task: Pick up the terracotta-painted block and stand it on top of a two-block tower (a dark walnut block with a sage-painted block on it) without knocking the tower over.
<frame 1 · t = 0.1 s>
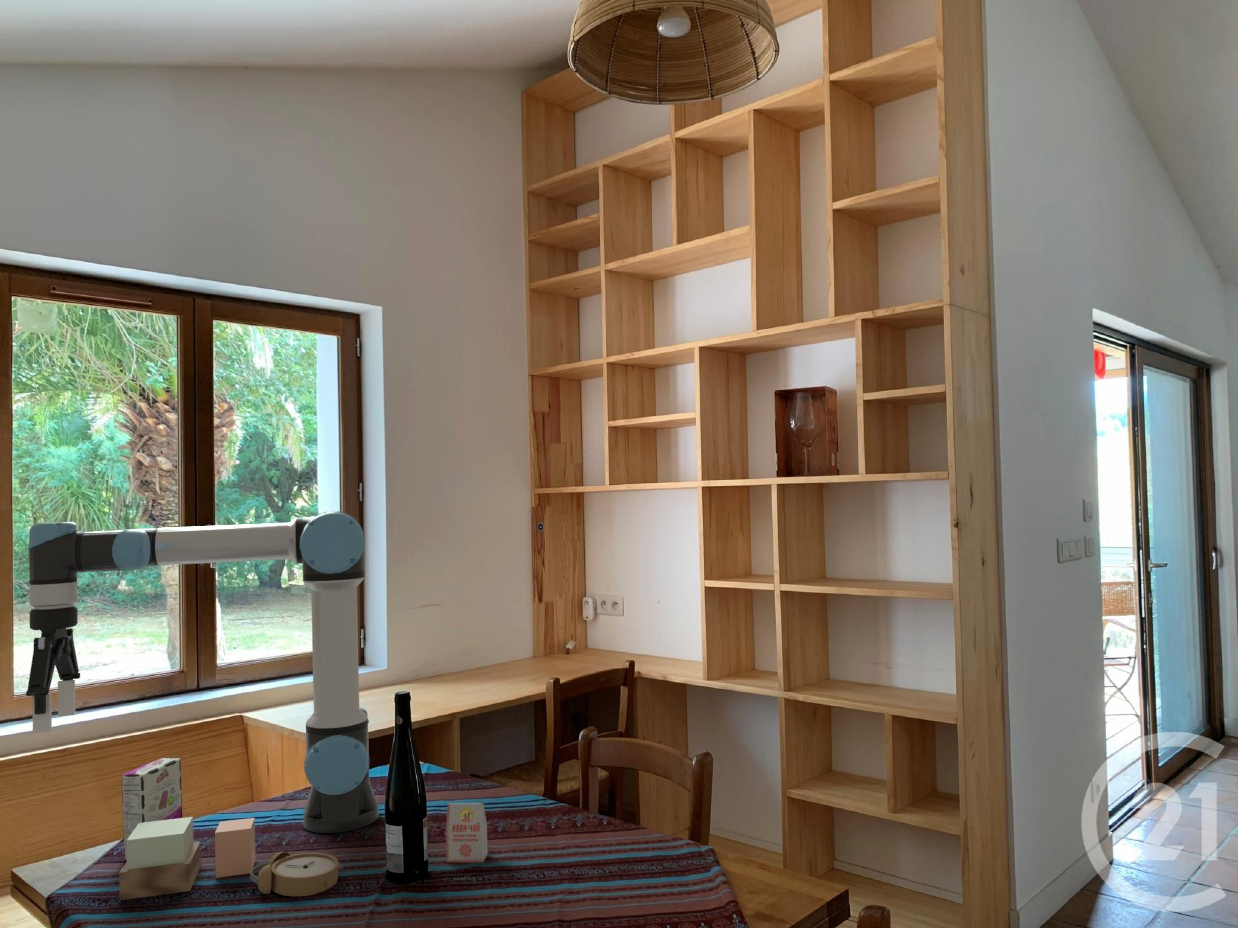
hand: (55, 723, 167), 28 cm above the table, fingers open, 13 cm apart
candy bar box: (153, 851, 179), on the table
tower upper: (161, 856, 163), point 5 cm above the table, touching tower lower
tower lower: (162, 884, 163), on the table, touching tower upper
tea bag: (467, 859, 169), on the table
block: (236, 869, 168), on the table
alarm clock: (294, 886, 160), on the table
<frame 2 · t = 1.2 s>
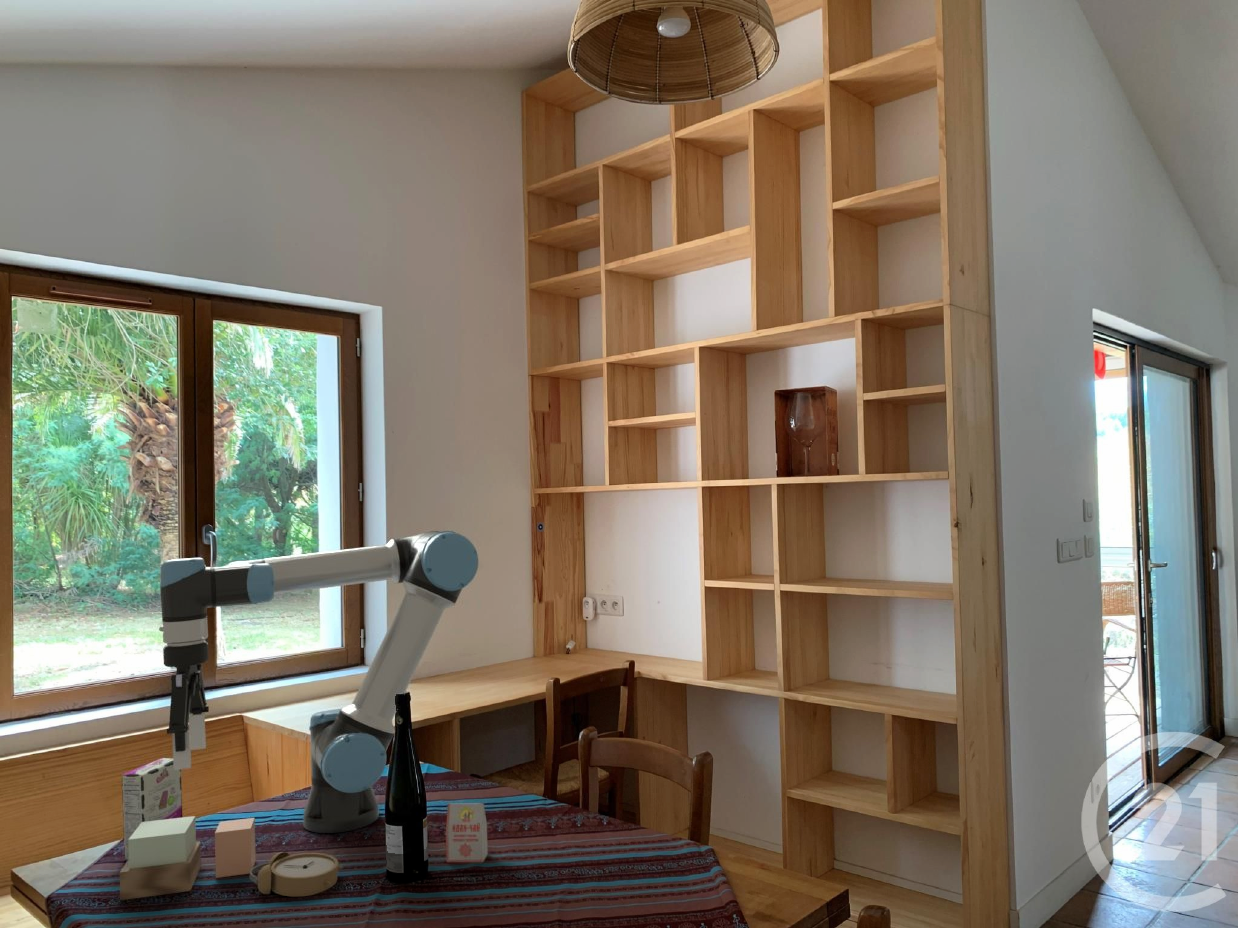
hand: (190, 758, 169), 20 cm above the table, fingers open, 13 cm apart
nothing on the table moved.
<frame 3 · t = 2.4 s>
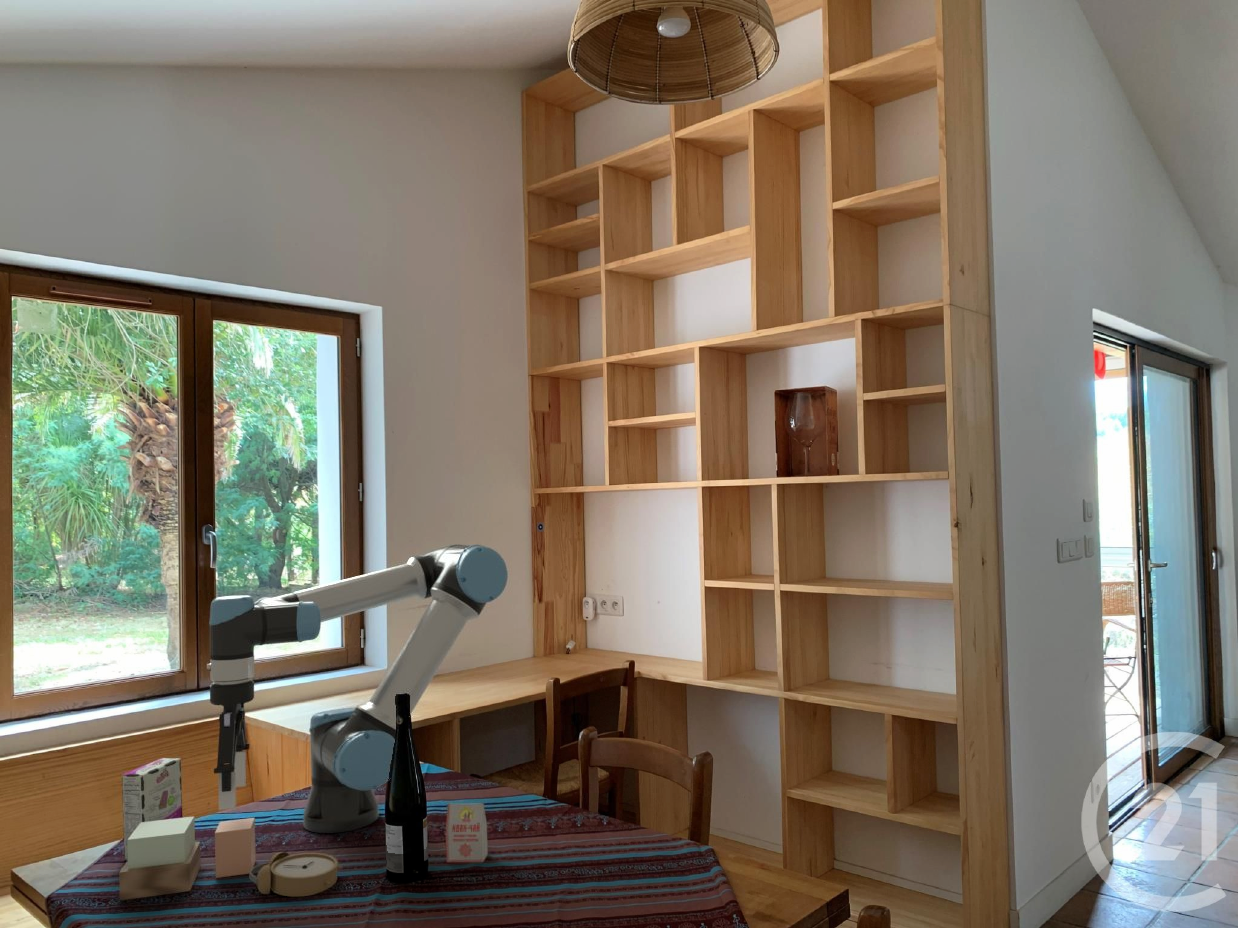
hand: (232, 797, 169), 13 cm above the table, fingers open, 13 cm apart
nothing on the table moved.
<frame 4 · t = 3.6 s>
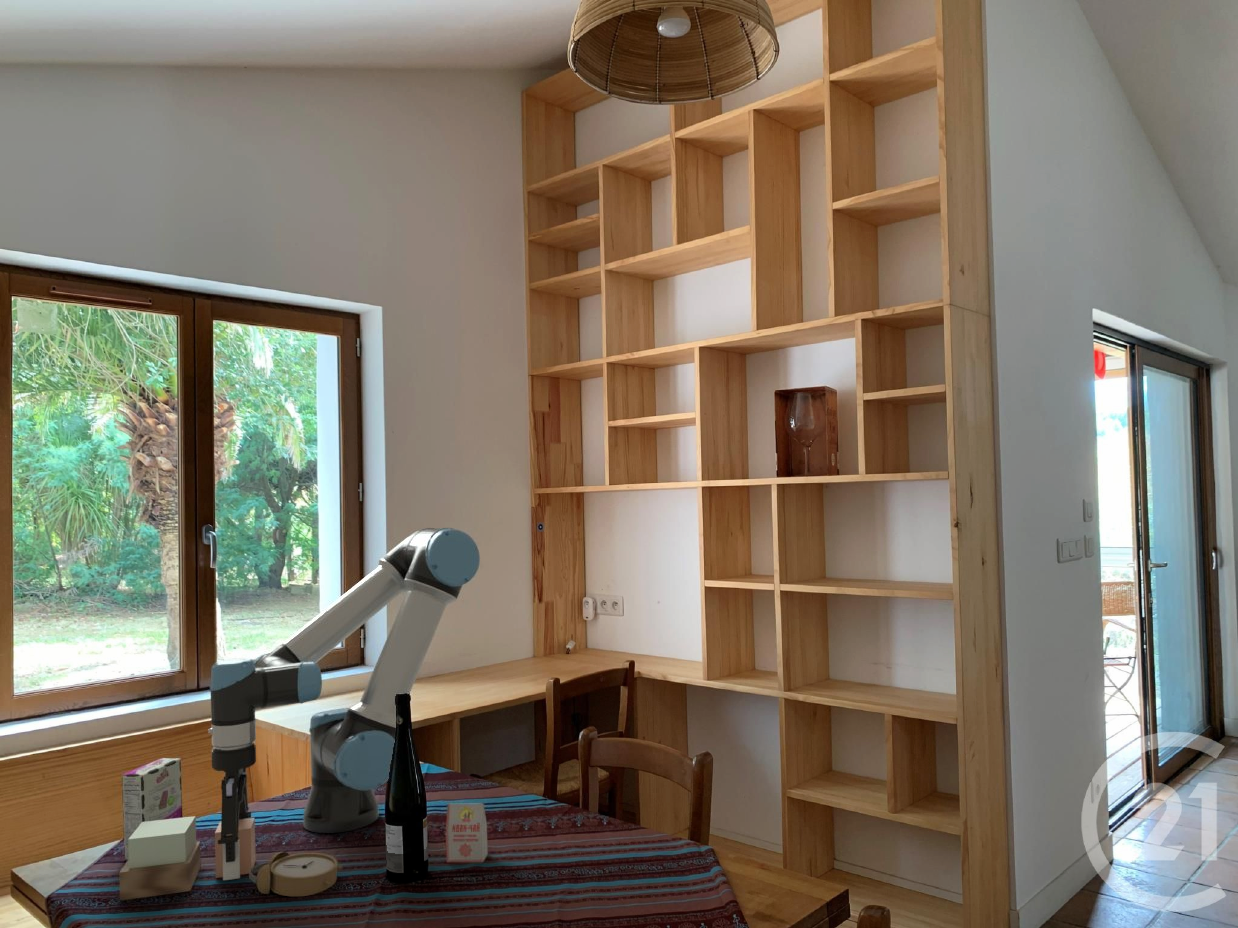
hand: (235, 866, 168), 0 cm above the table, fingers open, 10 cm apart
tower upper: (163, 855, 163), point 5 cm above the table
tower lower: (162, 884, 163), on the table
everything else where it was.
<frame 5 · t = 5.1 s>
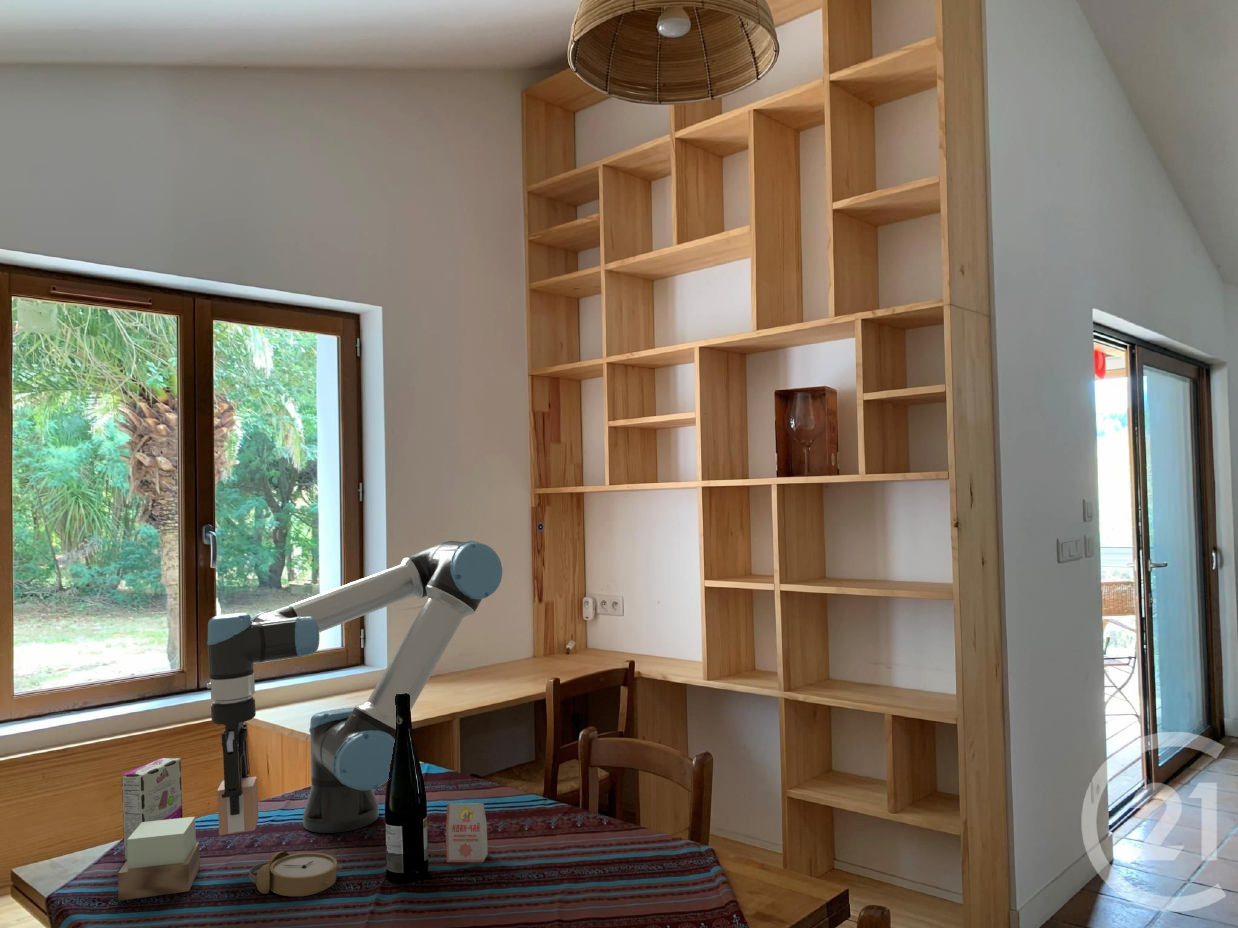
hand: (239, 824, 169), 8 cm above the table, fingers closed on block, 6 cm apart
block: (239, 826, 169), point 7 cm above the table, touching gripper
everything else where it was.
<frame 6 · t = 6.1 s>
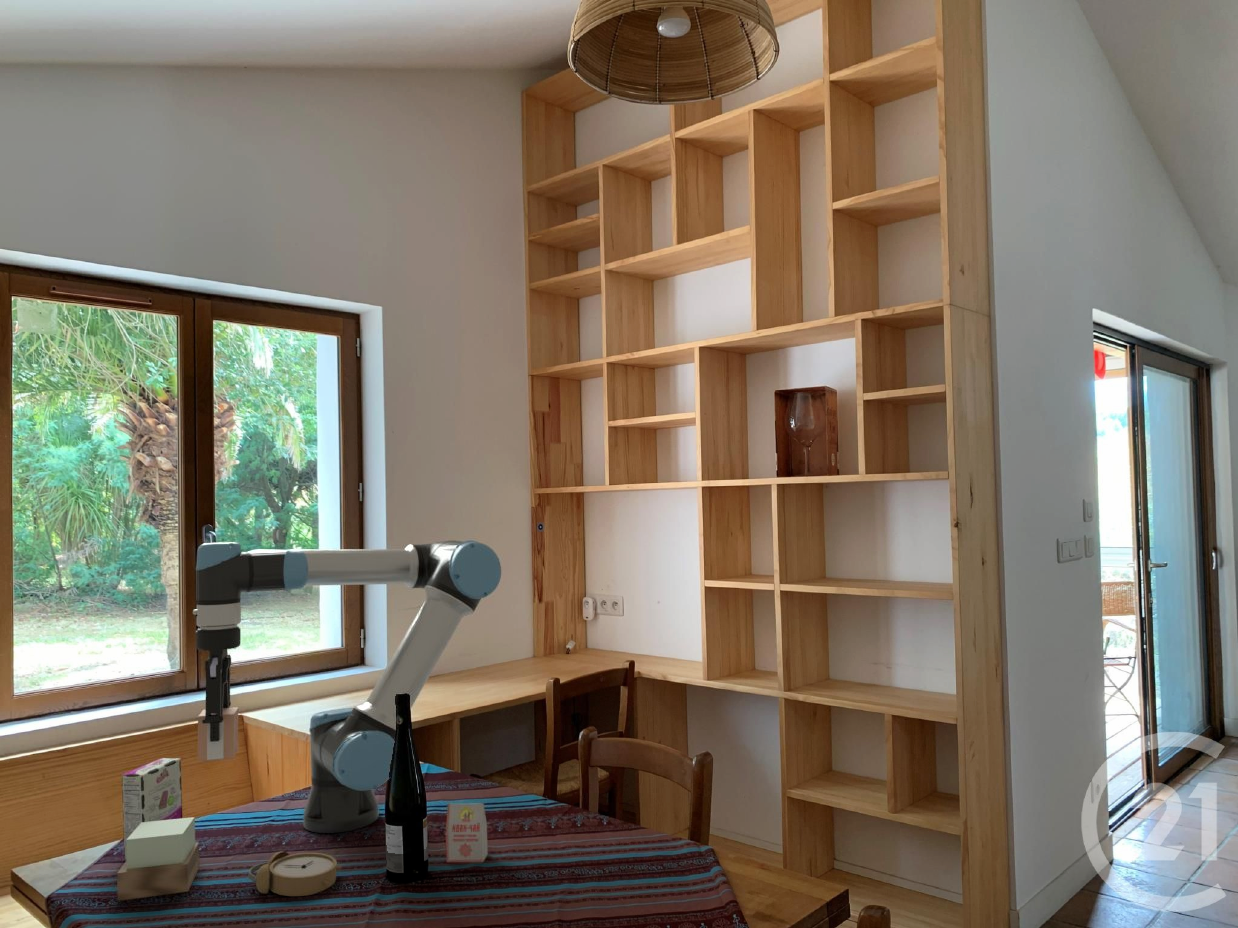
hand: (218, 753, 168), 21 cm above the table, fingers closed on block, 6 cm apart
tower upper: (161, 856, 163), point 5 cm above the table, touching tower lower
tower lower: (160, 885, 163), on the table, touching tower upper
block: (218, 755, 168), point 21 cm above the table, touching gripper
everything else where it was.
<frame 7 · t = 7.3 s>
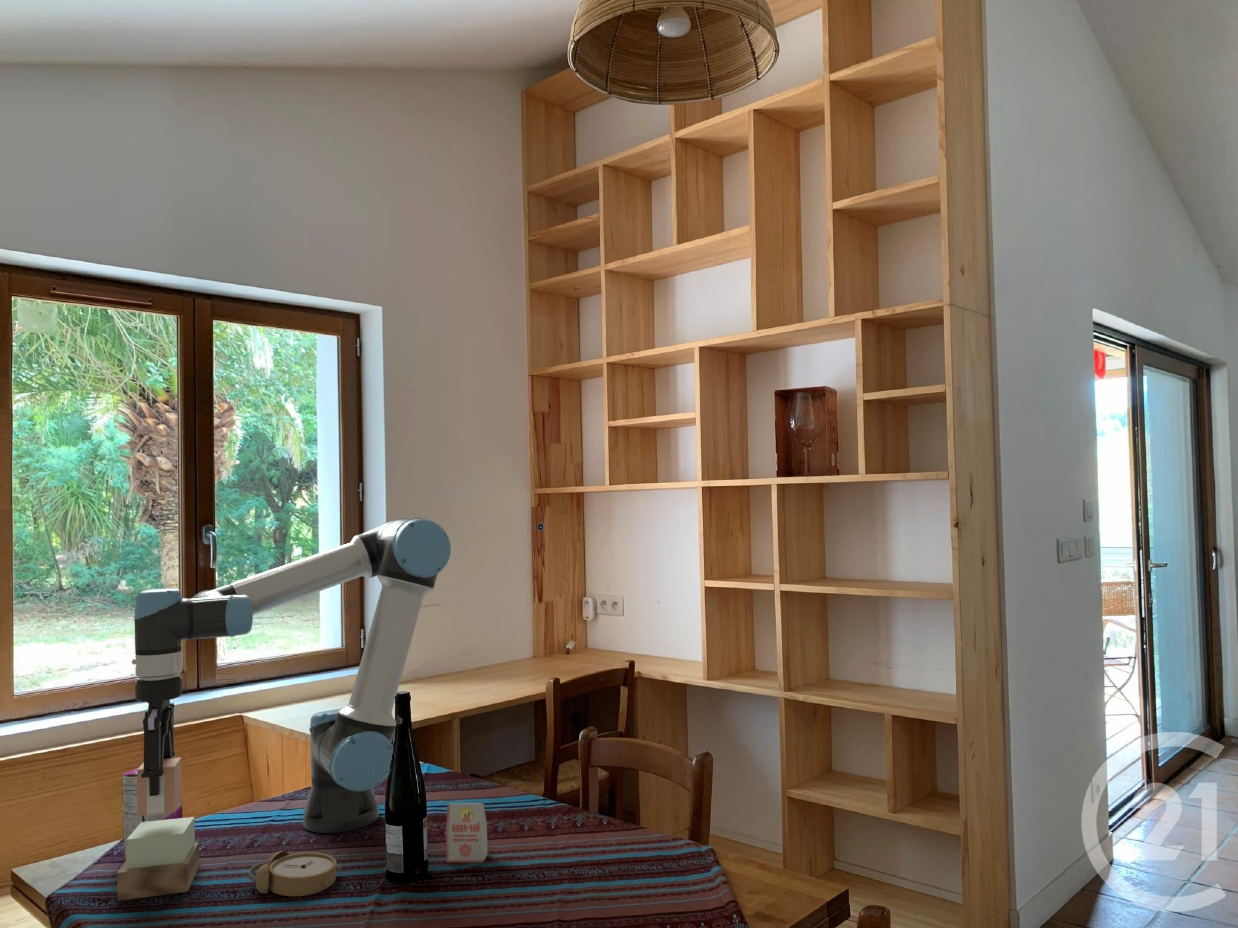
hand: (160, 806, 164), 13 cm above the table, fingers closed on block, 6 cm apart
block: (159, 808, 164), point 13 cm above the table, touching gripper
everything else where it was.
when the fingers open (10 cm above the table, at t = 8.2 s): block stays where it is, point 10 cm above the table.
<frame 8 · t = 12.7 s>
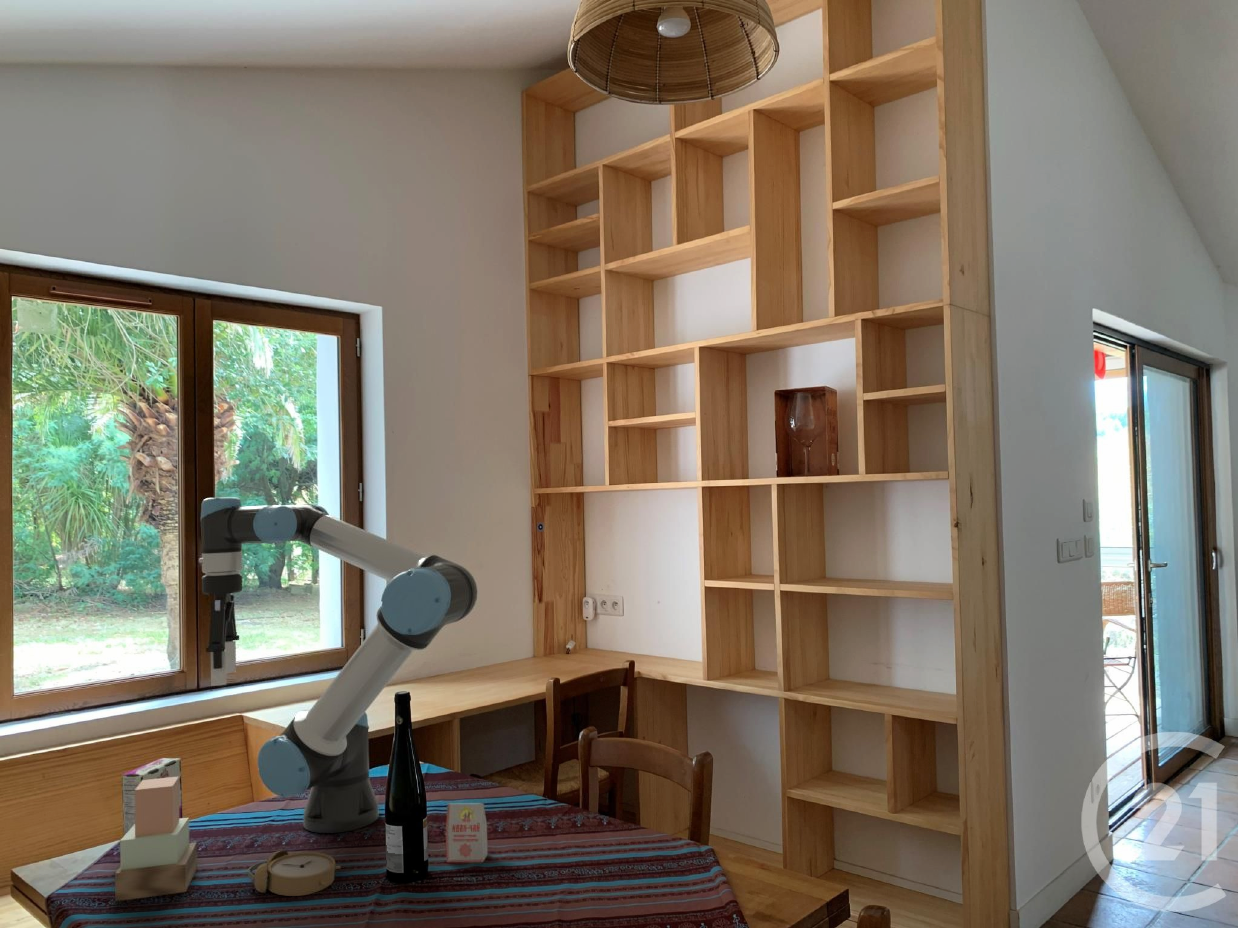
hand: (224, 678, 186), 32 cm above the table, fingers open, 13 cm apart
block: (157, 828, 163), point 10 cm above the table
everything else where it was.
at the end: block inside the target area on the tower upper (0.5 cm from its centre), point 5.0 cm above the tower upper's base; block tilted 0°; tower upper moved 0.9 cm from its start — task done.
